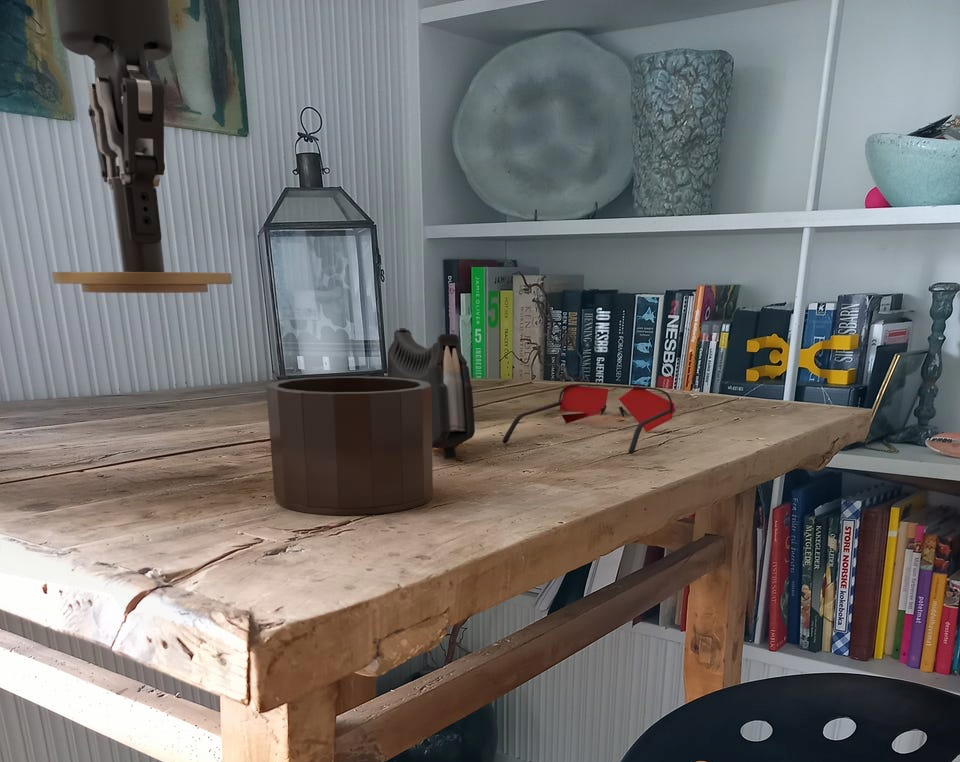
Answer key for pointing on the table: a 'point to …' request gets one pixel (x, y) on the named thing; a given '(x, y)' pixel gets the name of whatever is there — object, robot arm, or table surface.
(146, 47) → the robot arm
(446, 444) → the magazine
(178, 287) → the lid
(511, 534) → the table surface
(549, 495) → the table surface
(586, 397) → the glasses
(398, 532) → the table surface
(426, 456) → the brown faceted tub
